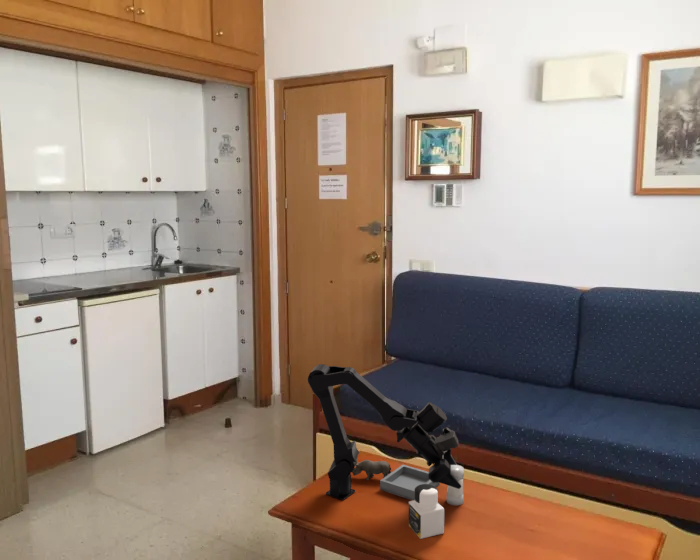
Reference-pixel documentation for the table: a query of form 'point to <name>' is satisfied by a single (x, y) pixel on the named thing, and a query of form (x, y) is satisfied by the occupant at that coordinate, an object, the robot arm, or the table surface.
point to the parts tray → (405, 481)
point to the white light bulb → (453, 493)
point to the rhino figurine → (372, 468)
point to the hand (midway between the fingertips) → (460, 480)
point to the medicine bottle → (426, 512)
